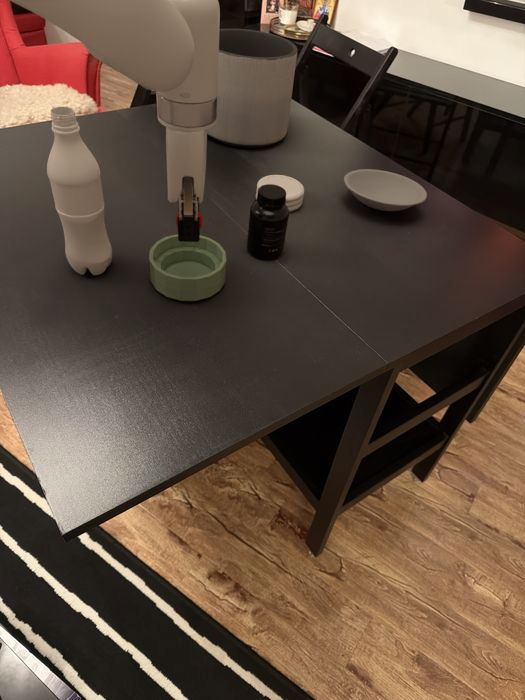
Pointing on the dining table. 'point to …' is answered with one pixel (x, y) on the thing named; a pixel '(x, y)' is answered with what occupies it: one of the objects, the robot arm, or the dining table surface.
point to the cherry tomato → (198, 216)
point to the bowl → (187, 268)
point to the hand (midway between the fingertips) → (188, 230)
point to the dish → (384, 189)
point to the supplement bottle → (268, 223)
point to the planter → (253, 88)
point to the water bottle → (78, 195)
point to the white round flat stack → (291, 187)
